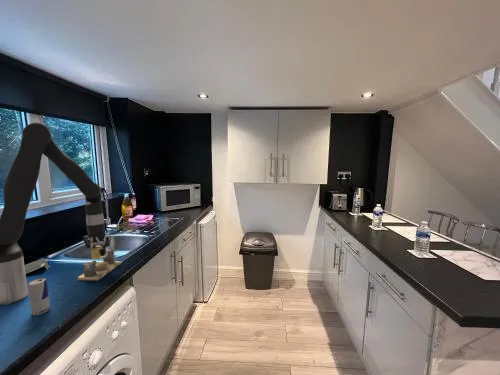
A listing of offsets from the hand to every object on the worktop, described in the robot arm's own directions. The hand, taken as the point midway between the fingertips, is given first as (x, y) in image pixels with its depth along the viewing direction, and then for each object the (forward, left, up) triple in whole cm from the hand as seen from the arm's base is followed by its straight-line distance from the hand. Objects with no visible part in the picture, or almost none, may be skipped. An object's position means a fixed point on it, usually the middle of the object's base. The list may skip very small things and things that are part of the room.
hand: (99, 255), depth 121 cm
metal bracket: (0, +37, -9) cm, 38 cm away
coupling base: (0, 0, -9) cm, 9 cm away
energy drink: (-32, +1, -9) cm, 33 cm away
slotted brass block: (0, 0, -1) cm, 1 cm away
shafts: (0, 0, -3) cm, 3 cm away
